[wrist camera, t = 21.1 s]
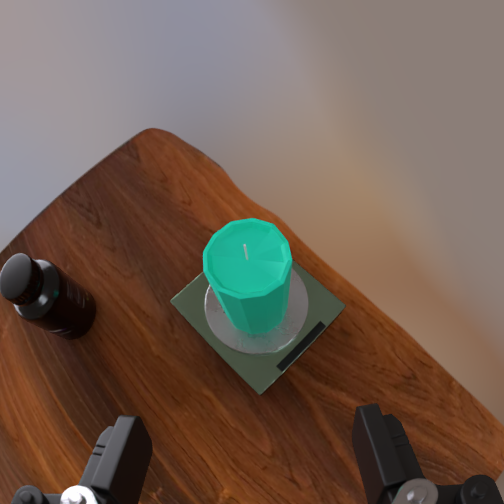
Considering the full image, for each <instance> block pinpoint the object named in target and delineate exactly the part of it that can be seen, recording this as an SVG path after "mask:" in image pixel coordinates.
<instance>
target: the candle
mask: <svg viewBox="0 0 504 504" xmlns="http://www.w3.org/2000/svg"><path fill="white" fill-rule="evenodd" d="M291 269H292V256H291V252H290V248H289V243H288V241H287V240H286V238H285V237H284V236H283V235H282V233H281V232H280V231H279V230H278V229H277V227H276V226H275V225H274V224H272V223H269V222H265V221H262V220H258V219H255V218H250V219H244V220H237V221H231V222H230V223H228V224H227V225H226V226H224V227H223V228H222V229H220V230H219V231H218V232H216V233H215V234H214V235H213V236H212V238H211V239H210V241H209V243H208V245H207V246H206V248H205V250H204V251H203V271H204V274H205V276H206V278H207V280H208V281H209V283H210V285H211V287H212V289H213V291H214V293H215V295H216V297H217V299H218V300H219V302H220V304H221V306H222V308H223V310H224V312H225V313H226V315H227V317H228V318H229V319H230V321H231V322H232V323H233V325H234V326H235V327H236V328H237V329H239V330H242V331H244V332H247V333H249V334H258V333H265V332H269V331H270V330H272V329H273V328H274V327H276V326H277V325H278V324H279V323H281V322H282V320H283V317H284V315H285V312H286V310H287V307H288V298H289V289H290V279H291Z"/></svg>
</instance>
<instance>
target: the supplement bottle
mask: <svg viewBox="0 0 504 504" xmlns="http://www.w3.org/2000/svg"><path fill="white" fill-rule="evenodd" d="M0 291H1V293H2V296H3V297H5V298H6V299H7V300H9V301H11V302H12V303H13V304H14V307H15V310H16V311H17V313H18V314H19V316H20V317H21V318H23V319H24V320H26V321H27V322H29V323H32V324H34V325H36V326H38V327H40V328H42V329H44V330H46V331H48V332H51V333H53V334H55V335H57V336H59V337H62V338H65V339H69V340H73V339H78V338H80V337H82V336H83V335H85V334H86V333H87V332H88V331H89V329H90V328H91V326H92V324H93V322H94V319H95V314H96V307H95V302H94V299H93V297H92V295H91V294H90V293H89V292H88V291H87V290H86V289H85V288H84V287H82V286H81V285H80V284H78V283H77V282H76V281H75V280H73V279H72V278H71V277H70V276H68V275H67V274H66V273H64V272H63V271H62V270H61V269H60V268H58V267H57V266H56V265H54V264H53V263H52V262H50V261H47V260H34V259H32V258H30V257H29V256H28V255H26V254H23V253H22V254H20V253H19V254H16V255H14V256H12V257H11V258H10V259H9V260H8V261H7V262H6V264H5V265H4V267H3V268H2V271H1V275H0Z"/></svg>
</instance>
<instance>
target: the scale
mask: <svg viewBox="0 0 504 504" xmlns="http://www.w3.org/2000/svg"><path fill="white" fill-rule="evenodd" d="M171 303H172V304H173V305H174V306H175V307H176V308H177V310H178V311H179V312H180V313H181V314H182V315H183V316H184V317H185V318H186V320H187V321H188V322H189V323H190V324H191V325H192V326H193V327H194V328H195V329H196V331H197V332H198V333H199V334H200V335H201V336H202V337H203V338H204V339H205V340H206V341H207V342H208V343H209V345H210V346H211V347H212V348H213V349H214V350H215V351H216V352H217V353H218V354H219V355H220V356H221V357H222V358H223V359H224V360H225V361H226V362H227V363H228V364H229V365H230V366H231V367H232V368H233V369H234V370H235V371H236V372H237V373H238V374H239V375H240V376H241V377H242V378H243V379H244V380H245V381H246V382H247V383H248V384H249V385H250V386H251V387H252V388H253V389H254V390H255V391H256V392H257V393H258V394H259V395H262V394H263V393H264V392H265V391H266V390H267V389H269V388H270V387H271V386H272V385H273V384H274V383H275V382H276V381H277V380H278V379H279V378H280V377H281V376H282V375H283V374H284V373H285V372H286V371H287V370H288V369H289V368H290V367H291V366H292V365H293V364H294V363H295V362H296V361H297V360H298V359H299V358H300V357H301V356H302V355H303V354H304V353H305V352H306V351H307V350H308V349H309V347H310V346H311V345H312V344H313V343H314V342H315V341H316V340H317V339H318V338H319V337H320V336H321V335H322V334H323V333H324V332H325V330H326V329H327V328H328V327H329V326H330V325H331V324H332V323H333V322H334V321H335V319H336V318H337V317H338V316H339V315H340V314H341V313H342V311H343V310H344V308H345V307H346V305H345V304H344V303H342V302H341V301H340V300H339V299H338V298H337V297H336V296H334V295H333V294H332V293H331V292H330V291H329V290H327V289H326V288H325V287H324V286H323V285H322V284H321V283H319V282H318V281H317V280H316V279H315V278H314V277H312V276H311V275H310V274H309V273H308V272H307V271H305V270H304V269H303V268H302V267H301V266H300V265H298V264H297V263H296V262H295V261H294V260H293V259H292V269H291V279H290V289H289V298H288V307H287V310H286V312H285V315H284V317H283V320H282V322H281V323H279V324H278V325H277V326H276V327H274V328H273V329H272V330H270V331H269V332H265V333H258V334H249V333H247V332H244V331H242V330H239V329H237V328H236V327H235V326H234V325H233V323H232V322H231V321H230V319H229V318H228V317H227V315H226V313H225V312H224V310H223V308H222V306H221V304H220V302H219V300H218V299H217V297H216V295H215V293H214V291H213V289H212V287H211V285H210V283H209V281H208V280H207V278H206V276H205V274H204V271H203V272H202V273H201V274H200V275H199V276H198V277H197V278H195V279H194V280H193V281H192V282H191V283H190V284H189V285H188V286H186V287H185V288H184V289H183V290H182V291H181V292H180V293H179V294H178V295H176V296H175V297H174V298H173V299H172V300H171Z"/></svg>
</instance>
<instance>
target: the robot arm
mask: <svg viewBox="0 0 504 504" xmlns="http://www.w3.org/2000/svg"><path fill="white" fill-rule="evenodd" d="M352 442H353V447H354V451H355V455H356V458H357V462H358V466H359V470H360V474H361V477H362V481H363V485H364V489H365V493H366V497H367V501H368V504H504V503H503V500H502V497H501V495H500V493H499V490H498V488H497V486H496V483H495V482H494V480H493V479H492V478H490V477H488V476H486V475H475V476H472V477H470V478H469V479H467V480H466V481H465V483H464V484H459V485H445V486H441V485H436V484H433V483H432V482H431V481H429V480H427V479H426V478H425V477H424V475H423V473H422V471H421V468H420V466H419V464H418V461H417V459H416V456H415V454H414V452H413V449H412V447H411V444H409V440H408V437H407V435H406V434H405V431H404V428H403V426H402V424H401V422H400V421H399V420H398V419H397V418H396V417H394V416H393V415H392V414H388V415H382V413H381V410H380V408H379V406H378V404H377V403H374V404H369V405H364V406H358V407H357V408H356V412H355V418H354V424H353V430H352ZM152 450H153V447H152V441H151V438H150V436H149V434H148V432H147V430H146V428H145V426H144V424H143V421H142V419H141V418H140V417H139V416H129V415H120V416H119V417H118V419H117V421H116V424H115V426H114V427H112V426H109V427H108V428H107V429H106V430H105V431H104V432H103V433H102V434H101V435H100V437H99V439H98V441H97V443H96V447H95V448H94V450H93V452H92V453H93V454H92V455H91V457H90V459H89V461H88V464H87V466H86V468H85V470H84V473H83V475H82V477H81V480H80V482H79V484H78V485H77V486H72V487H70V488H68V489H67V490H66V491H65V492H64V493H63V494H43V493H42V492H41V491H40V490H39V489H38V488H36V487H34V486H31V485H27V486H23V487H21V488H20V489H18V490H17V492H16V493H15V495H14V497H13V500H12V502H11V504H138V502H139V498H140V495H141V491H142V487H143V484H144V480H145V477H146V473H147V470H148V466H149V463H150V459H151V456H152Z"/></svg>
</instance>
